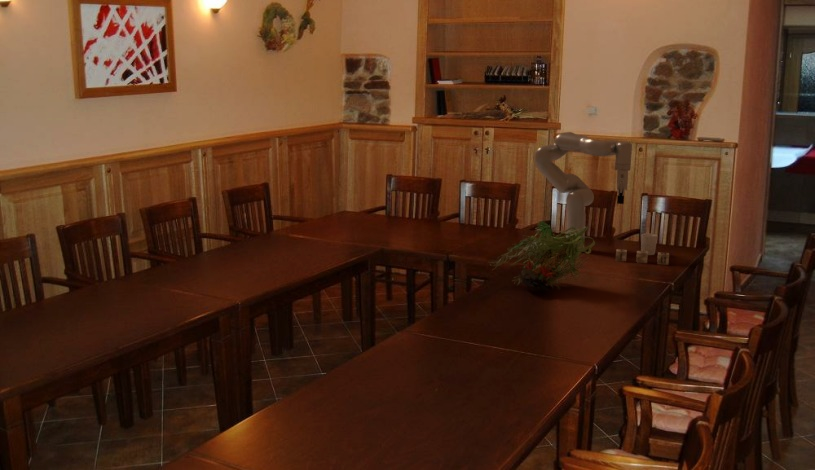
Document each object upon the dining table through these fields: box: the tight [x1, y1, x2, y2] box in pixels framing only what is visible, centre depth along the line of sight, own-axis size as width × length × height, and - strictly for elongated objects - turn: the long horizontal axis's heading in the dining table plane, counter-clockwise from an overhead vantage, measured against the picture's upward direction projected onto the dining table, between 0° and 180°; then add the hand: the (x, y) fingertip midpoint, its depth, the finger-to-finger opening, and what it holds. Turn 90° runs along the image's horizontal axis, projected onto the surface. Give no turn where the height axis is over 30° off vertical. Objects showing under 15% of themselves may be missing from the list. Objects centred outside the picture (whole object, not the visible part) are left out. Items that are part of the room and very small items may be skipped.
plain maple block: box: [636, 250, 649, 264], centre depth 419 cm, size 5×5×5 cm
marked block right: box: [656, 251, 670, 266], centre depth 416 cm, size 5×5×5 cm
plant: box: [488, 220, 599, 292], centre depth 364 cm, size 35×35×40 cm
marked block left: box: [615, 248, 628, 262], centre depth 422 cm, size 5×5×5 cm
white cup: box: [640, 232, 658, 256], centre depth 436 cm, size 8×8×10 cm
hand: (620, 203), depth 425 cm, fingers closed
